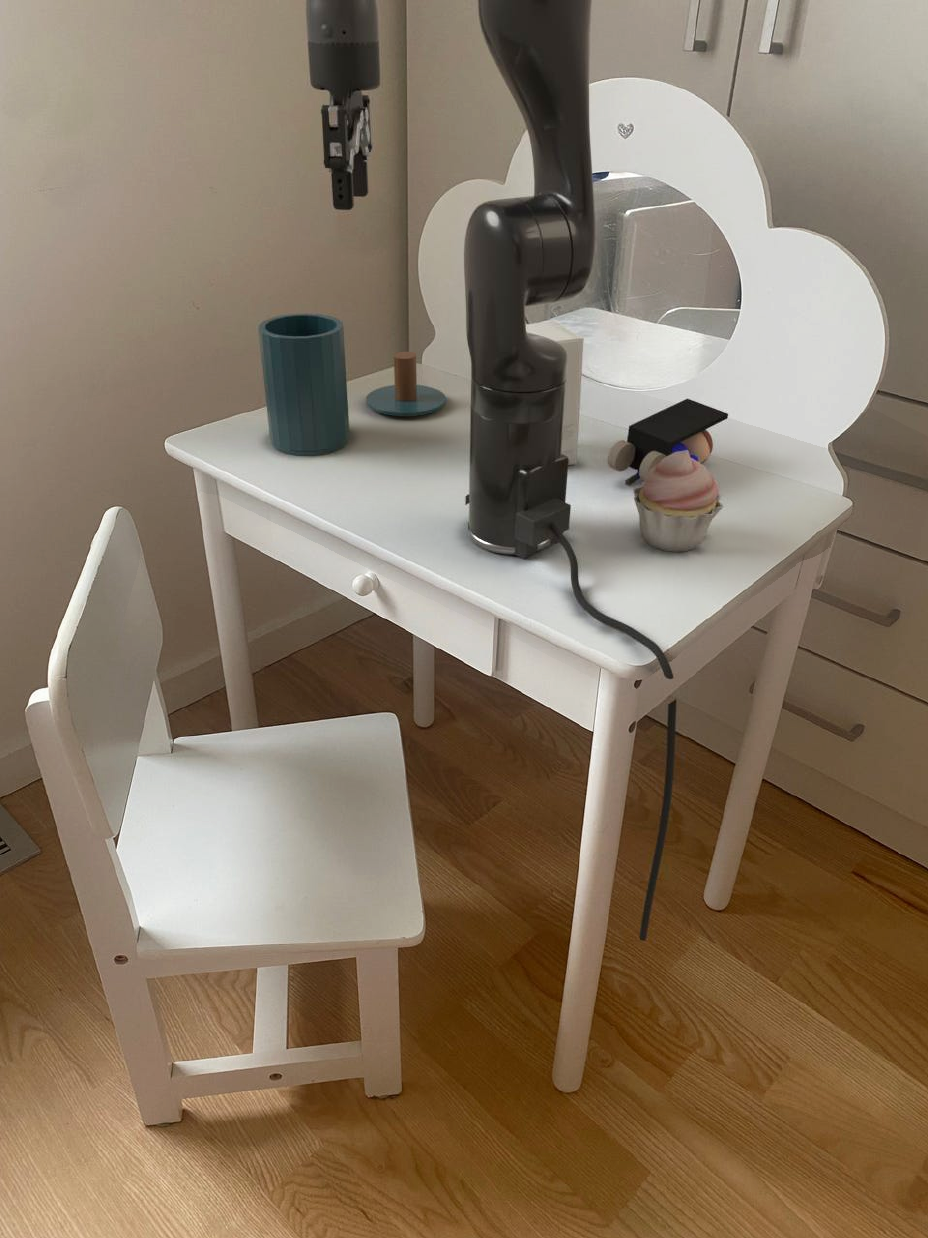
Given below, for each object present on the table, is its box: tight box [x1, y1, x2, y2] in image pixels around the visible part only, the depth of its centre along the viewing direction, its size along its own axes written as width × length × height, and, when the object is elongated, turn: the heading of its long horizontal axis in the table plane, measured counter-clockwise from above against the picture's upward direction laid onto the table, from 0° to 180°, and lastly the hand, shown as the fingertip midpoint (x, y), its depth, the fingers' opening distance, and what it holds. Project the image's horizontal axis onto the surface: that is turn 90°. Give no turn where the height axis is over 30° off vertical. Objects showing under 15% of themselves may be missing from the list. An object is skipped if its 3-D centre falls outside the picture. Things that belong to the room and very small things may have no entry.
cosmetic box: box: [526, 320, 585, 466], centre depth 115 cm, size 8×7×16 cm
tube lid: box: [365, 351, 447, 417], centre depth 131 cm, size 11×11×7 cm
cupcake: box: [632, 450, 725, 553], centre depth 99 cm, size 9×9×10 cm
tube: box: [257, 313, 351, 457], centre depth 118 cm, size 10×10×15 cm
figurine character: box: [606, 398, 729, 486], centre depth 113 cm, size 7×8×15 cm
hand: (351, 202), depth 110 cm, fingers open, 8 cm apart
